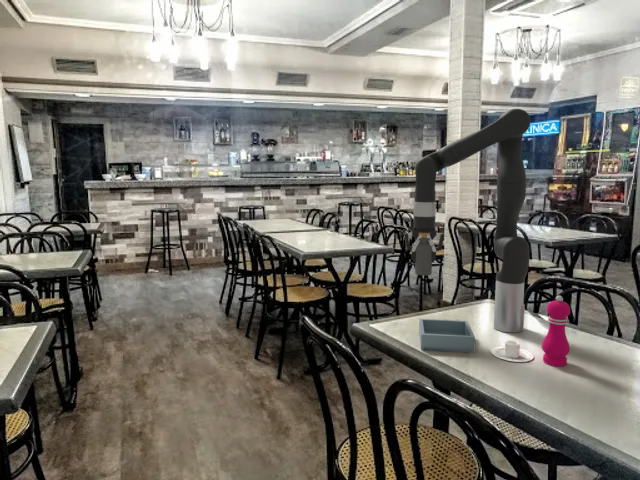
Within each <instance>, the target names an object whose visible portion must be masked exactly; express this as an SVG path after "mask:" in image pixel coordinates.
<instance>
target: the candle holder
mask: <svg viewBox="0 0 640 480" xmlns="http://www.w3.org/2000/svg"><path fill="white" fill-rule="evenodd" d="M520 343H521V342H519V341H517V340H506V341H505V342H504V346H495V347H493V348H491V350H490V353H491V354H492V355H493V356H495V357H496V358H498V359H501V360H504V361H509V362H515V363H517V362H519V363H525V362H529V361H532V360H533V359H534V355H533V354H532V353H531V352H530V351H528V350H526V349H524V348H521V344H520ZM503 350H504V356H506V357H507V358H506V357H503V356H500V355H499V354H498V352H499V351H503ZM520 353H522V354H524V355H526V358H524V359H523V358H522V359H517V358H520Z"/></svg>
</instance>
